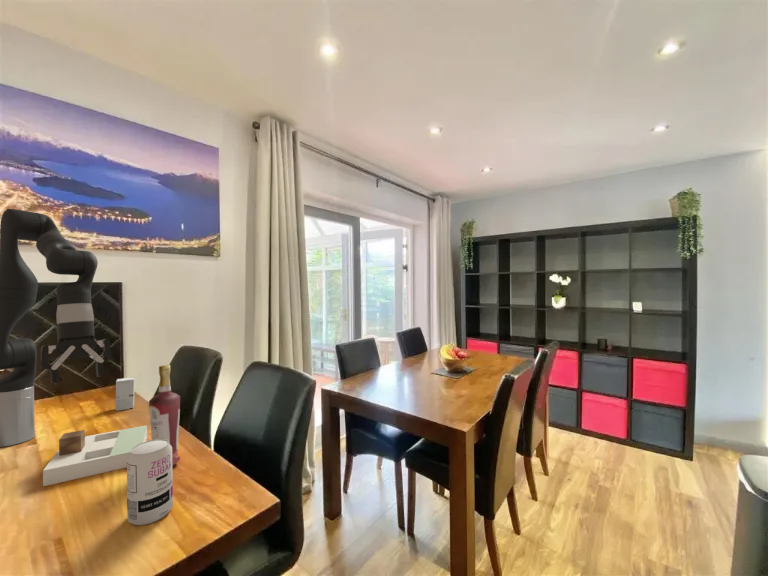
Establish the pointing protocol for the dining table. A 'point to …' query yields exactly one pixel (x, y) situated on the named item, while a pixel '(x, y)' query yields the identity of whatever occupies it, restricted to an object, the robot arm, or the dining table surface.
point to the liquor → (165, 413)
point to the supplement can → (149, 481)
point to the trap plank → (95, 456)
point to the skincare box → (125, 393)
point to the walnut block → (71, 442)
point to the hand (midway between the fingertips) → (78, 380)
